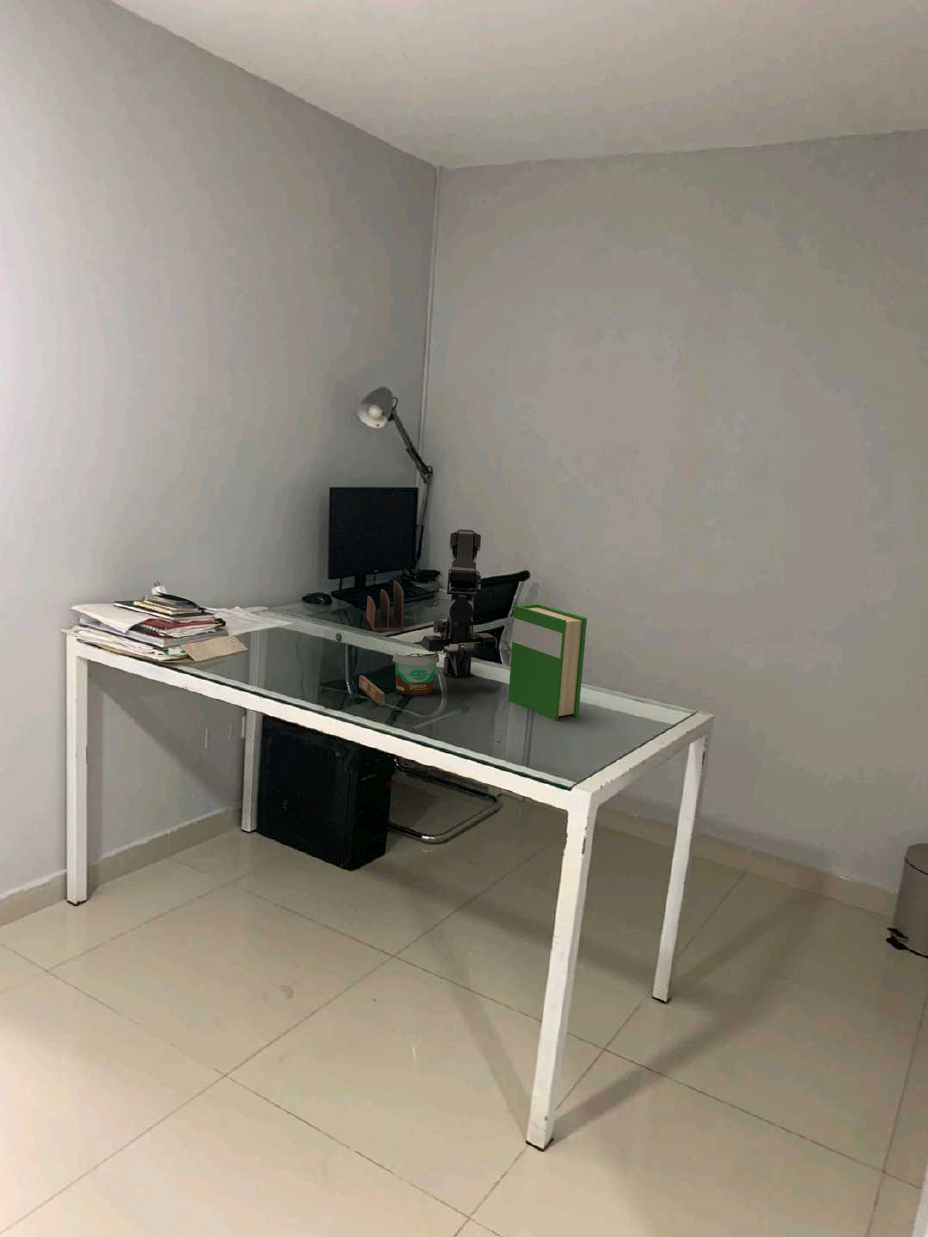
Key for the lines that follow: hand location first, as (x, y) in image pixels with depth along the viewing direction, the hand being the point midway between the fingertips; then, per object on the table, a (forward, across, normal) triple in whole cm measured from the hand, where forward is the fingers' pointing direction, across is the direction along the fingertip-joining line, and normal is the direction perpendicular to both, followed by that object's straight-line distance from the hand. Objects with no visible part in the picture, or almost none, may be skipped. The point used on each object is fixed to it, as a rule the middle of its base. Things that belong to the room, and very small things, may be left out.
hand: (457, 674), depth 237 cm
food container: (+4, +10, 0) cm, 11 cm away
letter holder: (+4, -8, -76) cm, 76 cm away
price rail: (+4, +23, 0) cm, 23 cm away
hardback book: (+4, -14, +19) cm, 24 cm away
